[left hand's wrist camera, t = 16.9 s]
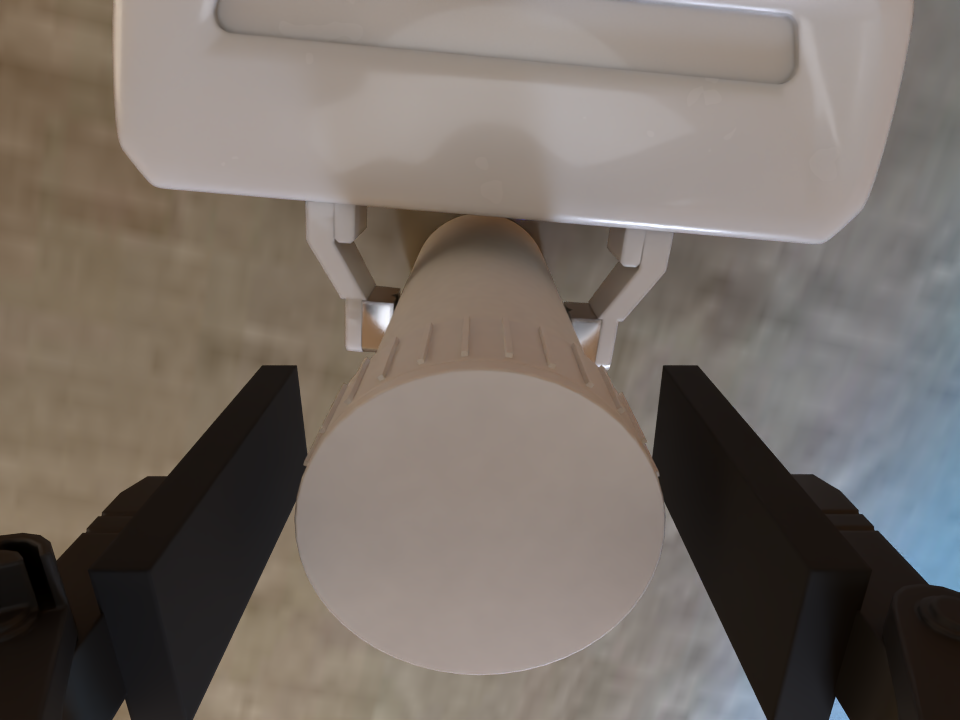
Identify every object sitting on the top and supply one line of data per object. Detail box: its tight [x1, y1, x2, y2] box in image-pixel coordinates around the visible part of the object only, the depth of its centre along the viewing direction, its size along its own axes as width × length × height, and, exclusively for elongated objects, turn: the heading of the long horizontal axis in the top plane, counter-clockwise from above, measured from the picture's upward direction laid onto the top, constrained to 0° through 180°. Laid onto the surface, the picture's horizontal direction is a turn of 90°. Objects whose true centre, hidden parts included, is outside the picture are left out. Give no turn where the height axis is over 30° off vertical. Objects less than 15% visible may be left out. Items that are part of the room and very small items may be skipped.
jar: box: [376, 215, 584, 353], centre depth 18 cm, size 5×5×16 cm
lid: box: [295, 316, 665, 675], centre depth 11 cm, size 6×6×2 cm
